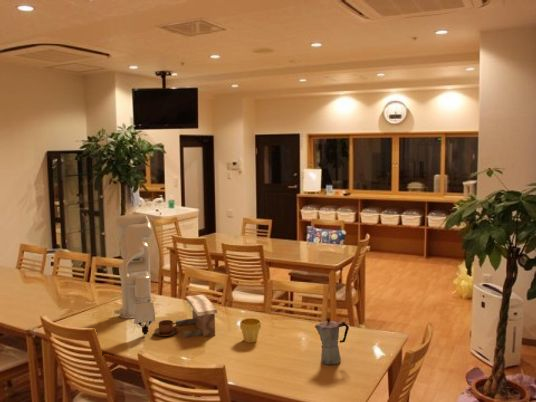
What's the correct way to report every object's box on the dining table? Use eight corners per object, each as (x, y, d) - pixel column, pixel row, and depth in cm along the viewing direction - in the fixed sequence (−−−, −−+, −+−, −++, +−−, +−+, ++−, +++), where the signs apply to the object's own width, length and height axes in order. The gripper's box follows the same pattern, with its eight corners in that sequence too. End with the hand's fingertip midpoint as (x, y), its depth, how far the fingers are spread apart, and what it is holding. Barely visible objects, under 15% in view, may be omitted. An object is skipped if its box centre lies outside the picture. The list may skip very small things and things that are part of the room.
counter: (184, 340, 254) (183, 314, 252) (174, 322, 280) (173, 298, 278) (217, 335, 260) (216, 309, 258) (204, 318, 286) (203, 294, 284)
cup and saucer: (169, 327, 272) (169, 316, 272) (182, 333, 264) (181, 322, 263) (150, 333, 264) (149, 322, 263) (162, 340, 256) (162, 328, 255)
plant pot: (263, 337, 257) (263, 319, 256) (256, 345, 247) (256, 326, 246) (245, 335, 260) (244, 316, 259) (237, 342, 250) (236, 323, 249)
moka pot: (313, 357, 233) (312, 315, 230) (345, 355, 234) (345, 314, 231) (316, 366, 223) (316, 323, 221) (350, 364, 224) (351, 321, 222)
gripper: (129, 303, 252) (131, 338, 254) (159, 299, 257) (160, 334, 259) (127, 298, 259) (129, 333, 261) (157, 295, 264) (158, 329, 266)
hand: (145, 333), depth 260 cm, fingers closed
